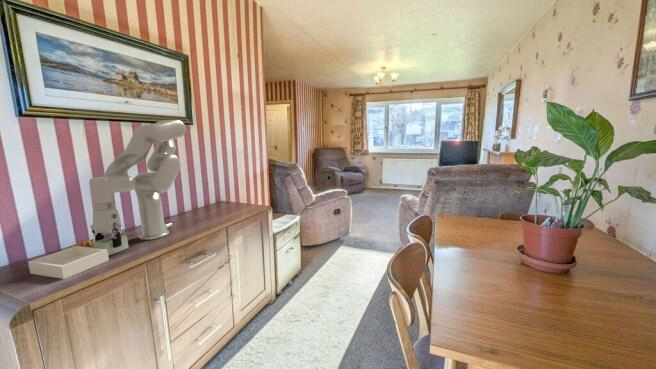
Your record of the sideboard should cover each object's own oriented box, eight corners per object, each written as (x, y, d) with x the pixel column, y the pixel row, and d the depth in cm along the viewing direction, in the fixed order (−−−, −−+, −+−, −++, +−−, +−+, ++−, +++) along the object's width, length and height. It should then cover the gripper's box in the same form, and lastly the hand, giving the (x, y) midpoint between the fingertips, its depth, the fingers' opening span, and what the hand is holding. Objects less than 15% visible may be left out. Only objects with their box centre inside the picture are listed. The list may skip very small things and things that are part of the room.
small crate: (116, 246, 122) (114, 234, 121) (128, 247, 120) (126, 236, 119) (94, 254, 113) (92, 242, 112) (107, 256, 111) (105, 243, 110)
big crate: (78, 256, 111) (76, 245, 111) (109, 260, 107) (107, 249, 106) (30, 273, 97) (27, 261, 96) (63, 278, 93) (61, 266, 92)
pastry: (68, 254, 114) (66, 246, 113) (69, 250, 119) (67, 242, 118) (97, 248, 120) (95, 240, 119) (97, 244, 125) (95, 236, 124)
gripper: (128, 205, 114) (133, 244, 116) (98, 203, 119) (103, 241, 121) (110, 209, 107) (115, 250, 109) (79, 207, 112) (84, 247, 114)
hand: (108, 245), depth 115 cm, fingers open, 9 cm apart
